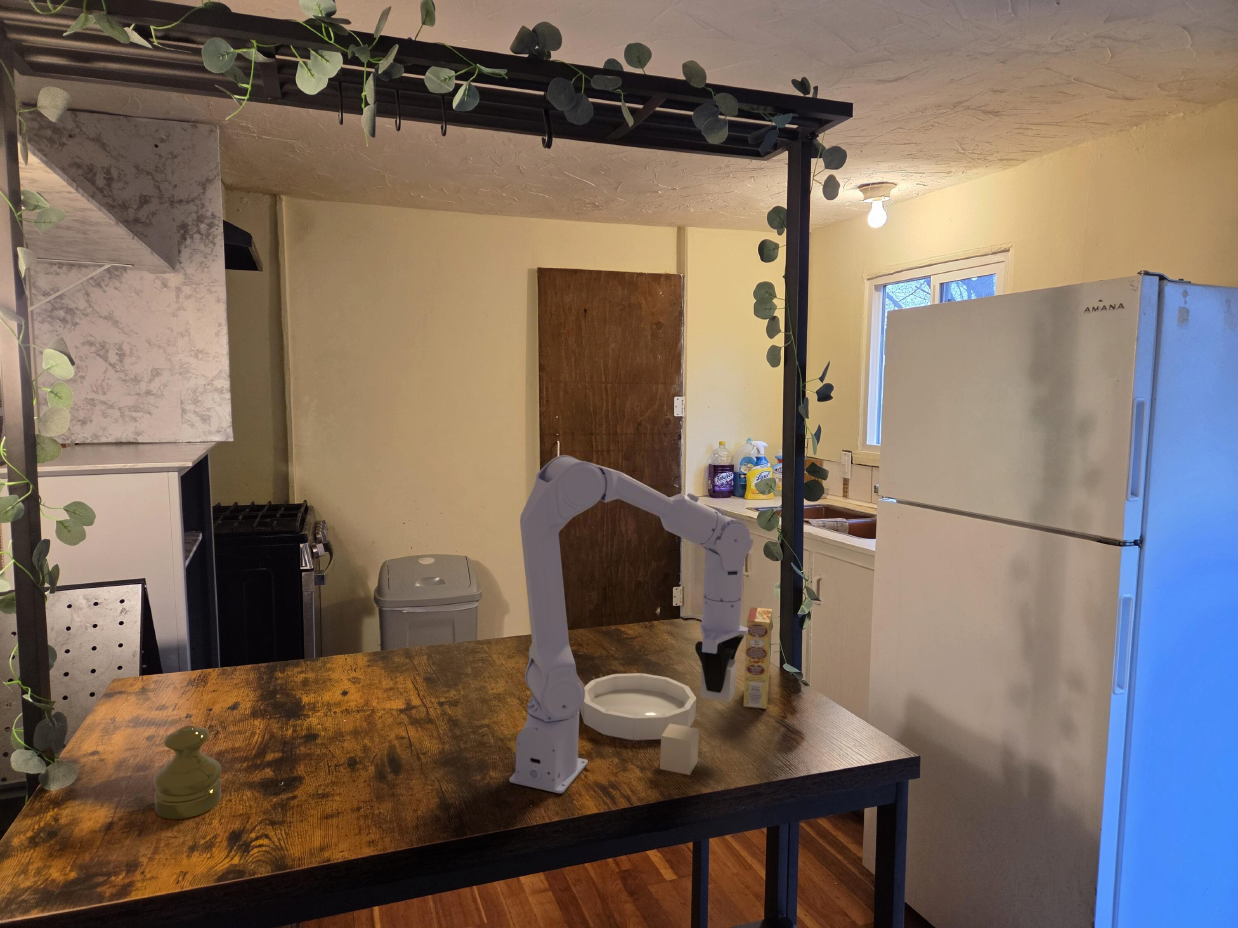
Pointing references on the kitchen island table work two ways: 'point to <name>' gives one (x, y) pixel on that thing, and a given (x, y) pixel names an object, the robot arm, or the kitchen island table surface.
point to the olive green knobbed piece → (187, 777)
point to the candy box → (757, 658)
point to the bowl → (637, 705)
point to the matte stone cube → (728, 685)
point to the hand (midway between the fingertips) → (717, 685)
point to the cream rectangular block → (679, 749)
